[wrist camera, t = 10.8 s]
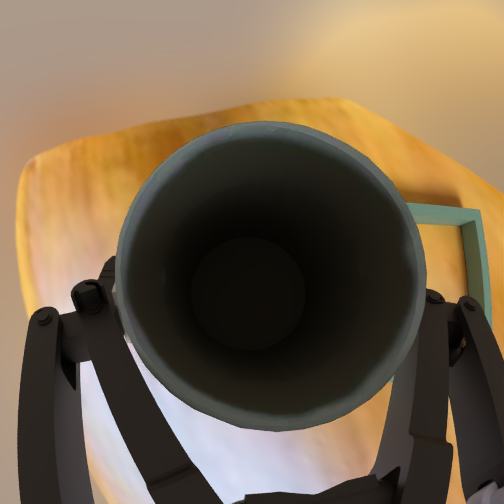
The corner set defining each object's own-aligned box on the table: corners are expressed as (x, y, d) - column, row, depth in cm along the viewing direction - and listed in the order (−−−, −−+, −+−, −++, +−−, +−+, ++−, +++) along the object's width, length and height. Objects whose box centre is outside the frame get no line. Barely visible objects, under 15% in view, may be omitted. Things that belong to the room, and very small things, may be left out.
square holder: (465, 216, 30) (479, 209, 27) (476, 354, 27) (491, 355, 24) (347, 208, 28) (358, 199, 26) (356, 380, 25) (368, 385, 23)
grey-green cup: (343, 334, 21) (460, 343, 9) (205, 392, 19) (190, 478, 8) (288, 200, 22) (349, 95, 11) (151, 250, 21) (80, 175, 9)
